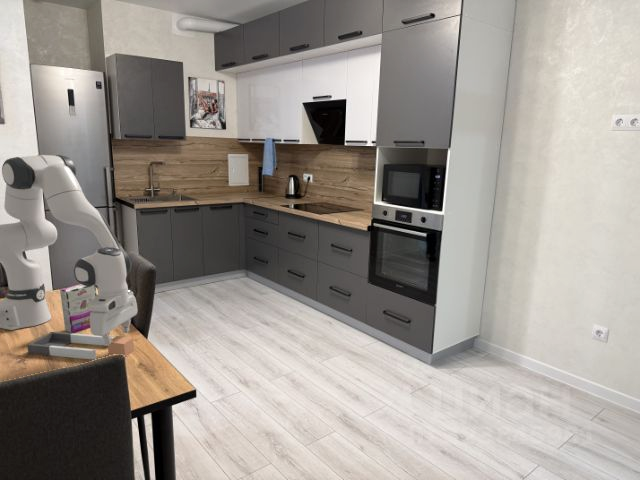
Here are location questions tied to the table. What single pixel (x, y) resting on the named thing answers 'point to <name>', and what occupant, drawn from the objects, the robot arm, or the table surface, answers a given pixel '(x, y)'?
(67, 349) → the channel
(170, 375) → the table surface
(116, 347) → the block
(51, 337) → the bin
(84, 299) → the candy bar box
